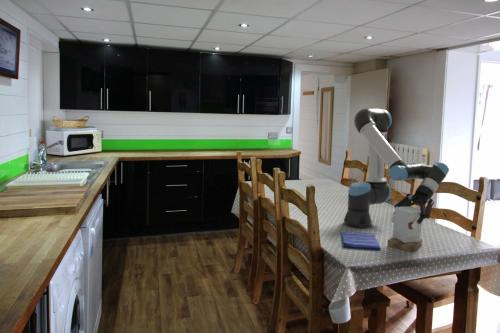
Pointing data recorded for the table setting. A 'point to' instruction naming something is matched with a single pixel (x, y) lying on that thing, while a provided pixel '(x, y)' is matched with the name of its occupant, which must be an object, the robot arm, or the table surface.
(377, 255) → the table surface
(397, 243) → the walnut stand
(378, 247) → the dish towel
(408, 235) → the supplement box
